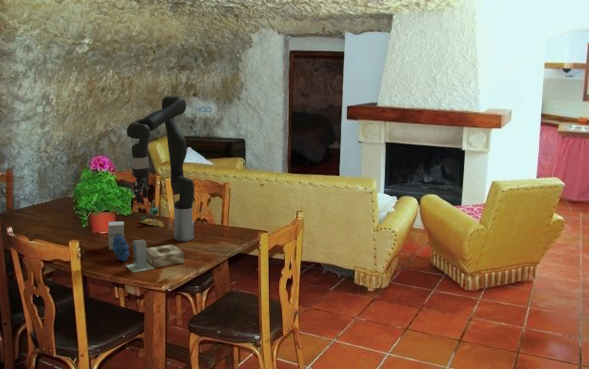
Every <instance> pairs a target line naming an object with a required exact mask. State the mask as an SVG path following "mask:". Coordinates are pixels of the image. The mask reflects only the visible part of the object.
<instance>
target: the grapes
mask: <svg viewBox="0 0 589 369" xmlns="http://www.w3.org/2000/svg"><path fill="white" fill-rule="evenodd" d="M113 241H114V242H113V244H112V246H113V249H112V251H113V253H114V254H115V256H117V259H118V260H120V261H123V262H127V260H128V257H129V256H130V252H129V249H130V246H129V245H128V244H126V243H127V240H126V238H125V237H124V238H122V236H121V235H117V237H116V236H115V237H114V238H113Z"/></svg>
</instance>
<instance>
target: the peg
mask: <svg viewBox="0 0 589 369" xmlns="http://www.w3.org/2000/svg"><path fill="white" fill-rule="evenodd" d="M132 248H133V250H132V251H133V253H132V255H133V257H132V258H133V264H134V267H135V268H136V269H140V268H146V267H147V262H148V261H147V257H146V248H147V242H146V240H144V239H138V240H137V239H136V240H135V239H134V240H132Z"/></svg>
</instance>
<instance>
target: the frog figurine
mask: <svg viewBox="0 0 589 369" xmlns="http://www.w3.org/2000/svg"><path fill="white" fill-rule="evenodd" d="M151 202H152V206H150V208H149V212H148V213H146V214H145V215H142V217H141V218H140V220H139V223H140V224H146V225H149V226H154V227H160V228H161V227H162V228H163V227H165V225H164V222H162V221H160V220H157V219H156V216H157V215H158V214H160V216H162V215H163V214H162V211H159V209H160V206H159V205H155V201H154V200H151ZM150 216H151V218H150ZM147 217H148V218H147ZM152 218H154V219H152Z"/></svg>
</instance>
